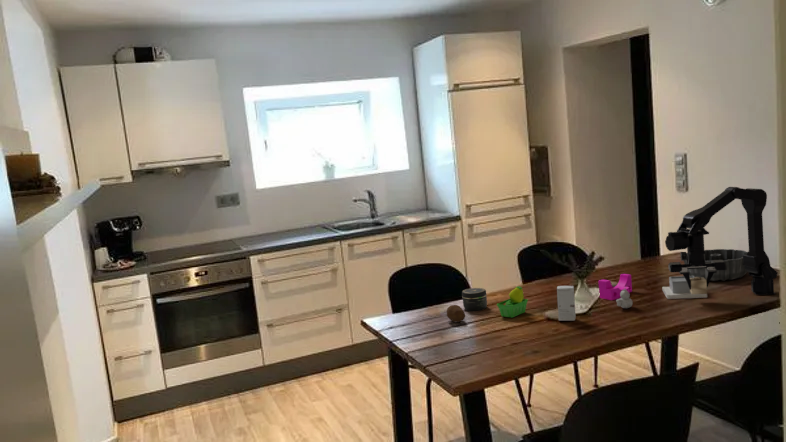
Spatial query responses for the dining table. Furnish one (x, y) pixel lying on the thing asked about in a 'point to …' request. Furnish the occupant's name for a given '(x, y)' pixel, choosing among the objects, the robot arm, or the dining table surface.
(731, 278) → the bundt pan
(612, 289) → the toy block
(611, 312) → the dining table surface
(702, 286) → the snap block
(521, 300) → the fruit basket
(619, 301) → the rubber duck
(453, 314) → the potato
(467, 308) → the jar
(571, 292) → the skincare box
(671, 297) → the grey square base plate
